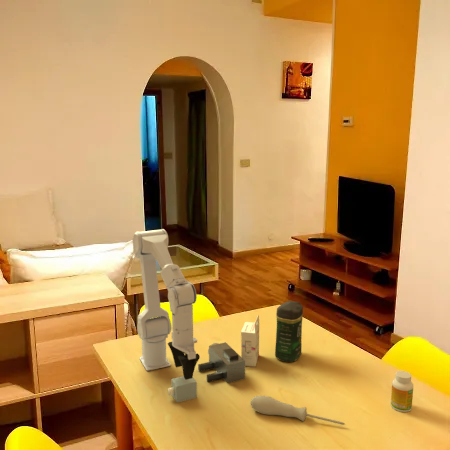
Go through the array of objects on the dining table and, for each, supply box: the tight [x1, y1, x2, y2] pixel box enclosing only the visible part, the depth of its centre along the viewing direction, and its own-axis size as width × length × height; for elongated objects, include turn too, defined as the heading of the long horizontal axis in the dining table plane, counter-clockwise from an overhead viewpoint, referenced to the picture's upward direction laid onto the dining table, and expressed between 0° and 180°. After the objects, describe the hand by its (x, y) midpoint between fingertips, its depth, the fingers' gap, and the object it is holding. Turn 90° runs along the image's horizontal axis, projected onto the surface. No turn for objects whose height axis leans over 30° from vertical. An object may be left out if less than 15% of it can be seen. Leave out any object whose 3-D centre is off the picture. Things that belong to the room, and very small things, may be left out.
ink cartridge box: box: [240, 314, 260, 367], centre depth 152 cm, size 9×5×15 cm, turn 168°
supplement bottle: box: [390, 370, 414, 413], centre depth 126 cm, size 5×5×10 cm
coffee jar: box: [274, 300, 304, 363], centre depth 154 cm, size 10×8×19 cm
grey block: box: [167, 375, 198, 403], centre depth 131 cm, size 4×8×5 cm, turn 115°
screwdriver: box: [250, 395, 346, 426], centre depth 122 cm, size 5×25×4 cm, turn 70°
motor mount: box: [197, 342, 246, 384], centre depth 145 cm, size 16×11×7 cm
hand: (183, 372), depth 131 cm, fingers open, 7 cm apart
